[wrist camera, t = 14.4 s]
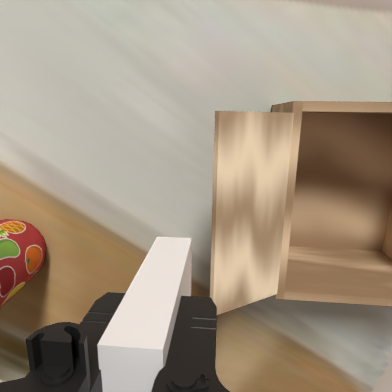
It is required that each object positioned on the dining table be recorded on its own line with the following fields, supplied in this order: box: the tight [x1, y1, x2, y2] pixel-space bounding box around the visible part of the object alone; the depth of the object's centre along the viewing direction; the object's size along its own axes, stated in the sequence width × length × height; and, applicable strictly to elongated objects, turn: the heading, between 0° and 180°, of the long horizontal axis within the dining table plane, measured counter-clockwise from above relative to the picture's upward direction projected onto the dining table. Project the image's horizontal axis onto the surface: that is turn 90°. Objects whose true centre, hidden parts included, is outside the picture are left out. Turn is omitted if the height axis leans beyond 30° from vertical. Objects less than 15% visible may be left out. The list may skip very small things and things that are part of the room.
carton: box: [272, 101, 392, 306], centre depth 25 cm, size 14×12×9 cm
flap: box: [210, 111, 294, 315], centre depth 19 cm, size 13×1×6 cm
